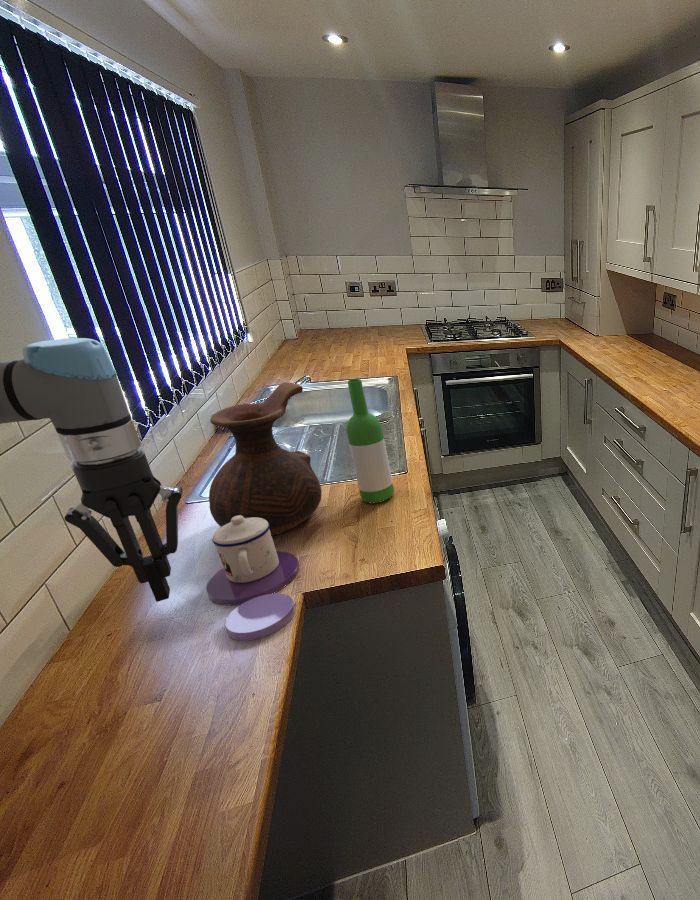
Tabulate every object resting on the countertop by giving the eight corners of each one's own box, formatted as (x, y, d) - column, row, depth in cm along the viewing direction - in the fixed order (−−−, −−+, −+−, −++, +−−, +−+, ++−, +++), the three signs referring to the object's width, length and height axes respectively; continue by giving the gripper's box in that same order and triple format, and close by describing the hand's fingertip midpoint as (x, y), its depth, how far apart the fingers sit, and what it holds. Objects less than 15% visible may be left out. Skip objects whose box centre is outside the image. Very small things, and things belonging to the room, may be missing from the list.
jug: (323, 536, 114) (288, 405, 102) (206, 557, 107) (155, 419, 95) (333, 493, 133) (305, 377, 121) (234, 508, 126) (194, 388, 114)
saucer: (207, 616, 91) (205, 610, 90) (209, 572, 102) (207, 567, 102) (303, 585, 98) (302, 580, 98) (295, 548, 110) (294, 543, 109)
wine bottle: (366, 508, 125) (340, 387, 113) (357, 496, 131) (331, 379, 119) (399, 498, 129) (377, 380, 118) (389, 487, 135) (366, 373, 123)
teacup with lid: (227, 565, 103) (209, 513, 98) (280, 551, 107) (265, 501, 102) (222, 599, 93) (202, 544, 88) (281, 583, 97) (264, 529, 92)
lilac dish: (227, 649, 83) (224, 641, 83) (227, 614, 91) (225, 606, 91) (298, 624, 88) (295, 617, 88) (292, 593, 96) (290, 586, 96)
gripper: (33, 476, 65) (103, 625, 74) (165, 453, 72) (214, 593, 81) (49, 456, 71) (112, 597, 80) (169, 436, 77) (215, 569, 87)
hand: (163, 595), depth 80 cm, fingers closed
